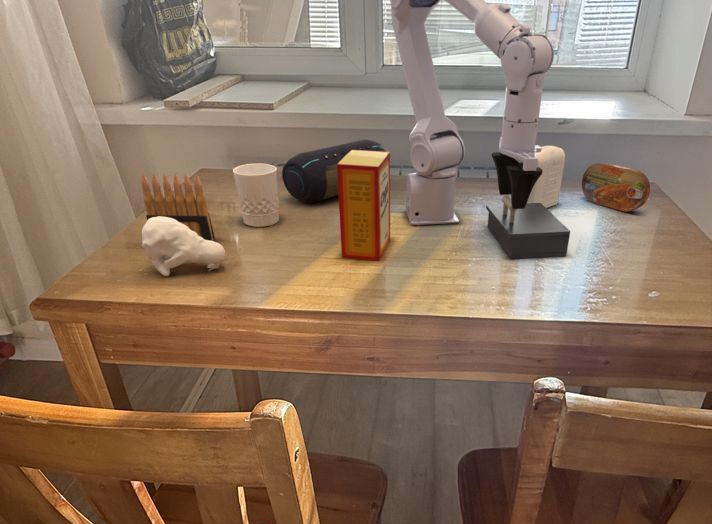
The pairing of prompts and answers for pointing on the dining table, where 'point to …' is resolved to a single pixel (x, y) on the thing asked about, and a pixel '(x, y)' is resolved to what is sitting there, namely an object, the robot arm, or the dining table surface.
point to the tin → (615, 186)
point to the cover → (526, 220)
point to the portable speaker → (319, 170)
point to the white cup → (257, 193)
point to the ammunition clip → (179, 204)
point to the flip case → (528, 243)
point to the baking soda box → (364, 204)
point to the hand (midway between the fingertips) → (511, 201)
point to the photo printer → (548, 176)
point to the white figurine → (177, 245)
